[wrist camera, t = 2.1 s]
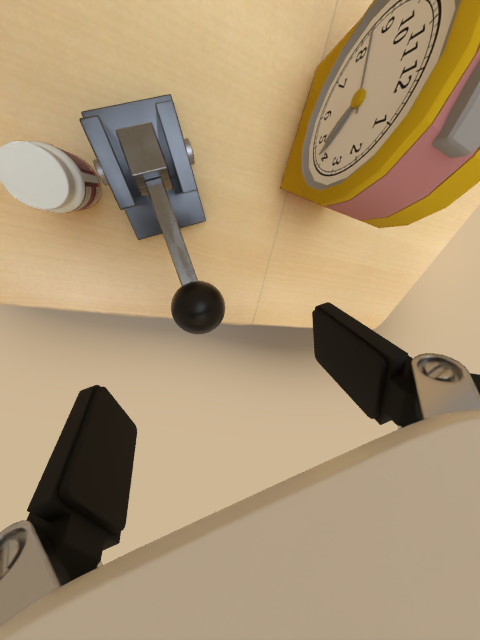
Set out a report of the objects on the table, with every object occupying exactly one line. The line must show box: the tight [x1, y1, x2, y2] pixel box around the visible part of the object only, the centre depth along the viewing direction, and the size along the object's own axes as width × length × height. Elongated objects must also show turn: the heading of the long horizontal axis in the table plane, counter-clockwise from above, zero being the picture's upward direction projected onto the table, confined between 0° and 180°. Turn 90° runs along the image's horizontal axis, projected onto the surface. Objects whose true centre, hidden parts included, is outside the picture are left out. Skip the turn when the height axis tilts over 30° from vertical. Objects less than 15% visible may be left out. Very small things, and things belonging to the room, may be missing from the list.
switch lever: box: [116, 122, 225, 334], centre depth 15 cm, size 13×4×4 cm, turn 12°
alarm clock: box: [280, 0, 480, 228], centre depth 19 cm, size 15×8×18 cm, turn 163°
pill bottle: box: [0, 141, 101, 213], centre depth 19 cm, size 5×5×8 cm
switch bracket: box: [79, 94, 206, 240], centre depth 18 cm, size 11×8×13 cm
